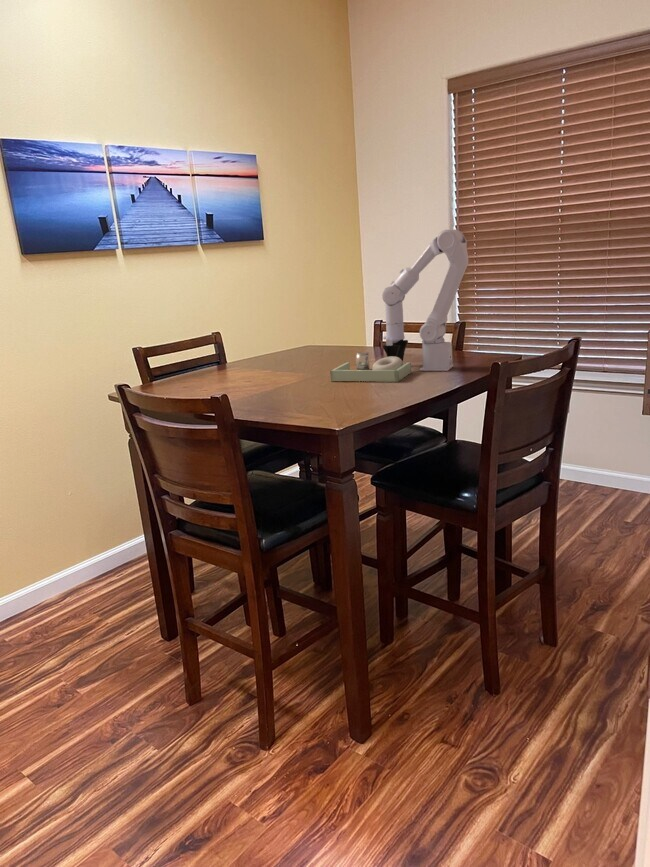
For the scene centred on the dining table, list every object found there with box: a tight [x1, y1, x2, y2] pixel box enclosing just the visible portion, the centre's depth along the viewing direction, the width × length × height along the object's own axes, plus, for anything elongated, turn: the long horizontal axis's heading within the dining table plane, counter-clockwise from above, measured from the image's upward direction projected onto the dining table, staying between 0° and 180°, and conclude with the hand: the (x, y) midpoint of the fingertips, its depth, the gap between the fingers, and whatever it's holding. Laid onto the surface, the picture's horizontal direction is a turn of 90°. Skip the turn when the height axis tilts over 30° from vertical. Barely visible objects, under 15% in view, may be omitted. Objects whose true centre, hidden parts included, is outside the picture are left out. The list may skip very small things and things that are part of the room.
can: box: [355, 351, 371, 370], centre depth 220 cm, size 4×4×6 cm
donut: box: [371, 356, 404, 370], centre depth 209 cm, size 10×4×10 cm
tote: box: [329, 361, 412, 383], centre depth 207 cm, size 22×15×4 cm
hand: (396, 363), depth 219 cm, fingers open, 7 cm apart
